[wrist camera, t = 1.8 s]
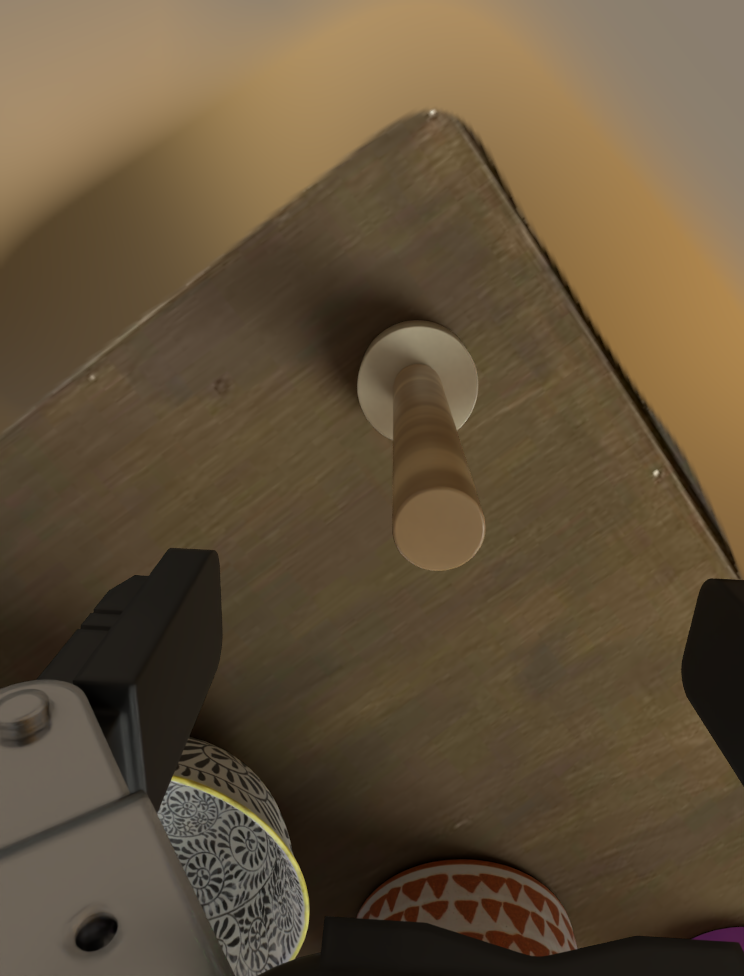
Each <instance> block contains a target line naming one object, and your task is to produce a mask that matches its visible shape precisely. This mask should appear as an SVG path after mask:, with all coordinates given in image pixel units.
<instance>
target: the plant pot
mask: <svg viewBox="0 0 744 976" xmlns="http://www.w3.org/2000/svg"><path fill="white" fill-rule="evenodd" d="M356 918H361V919H377V920H393V921H409V922H425V923H429V924H432V925H435V926H438V927H441V928H444V929H448V930H451V931H454V932H457V933H460V934H463V935H466V936H469V937H473V938H476V939H479V940H482V941H485V942H488V943H491V944H494V945H498V946H501V947H504V948H507V949H510V950H513V951H516V952H519V953H523V954H526V955H530V956H548V955H552V954H557V953H561V952H566V951H570V950H575V949H577V945H576V941H575V937H574V933H573V929H572V926H571V922H570V920H569V917H568V915H567V912H566V911H565V909H564V907H563V905H562V904H561V902H560V901H559V900H558V899H557V897H556V896H555V895H554V894H553V893H552V892H551V891H550V890H549V889H548V888H547V887H546V886H544V885H543V884H542V883H540V882H539V881H537V880H536V879H534V878H533V877H531V876H529V875H527V874H525V873H523V872H521V871H519V870H517V869H514V868H512V867H508V866H505V865H502V864H498V863H494V862H489V861H482V860H472V859H452V860H442V861H435V862H430V863H426V864H422V865H419V866H416V867H413V868H410V869H408V870H405V871H403V872H401V873H399V874H397V875H395V876H393V877H392V878H390V879H388V880H387V881H385V882H384V883H383V884H381V885H380V886H379V887H378V888H377V889H376V890H375V891H373V893H372V894H371V895H370V896H369V897H368V898H367V899H366V901H365V902H364V904H363V905H362V907H361V908H360V910H359V912H358V914H357V917H356Z"/></svg>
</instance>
